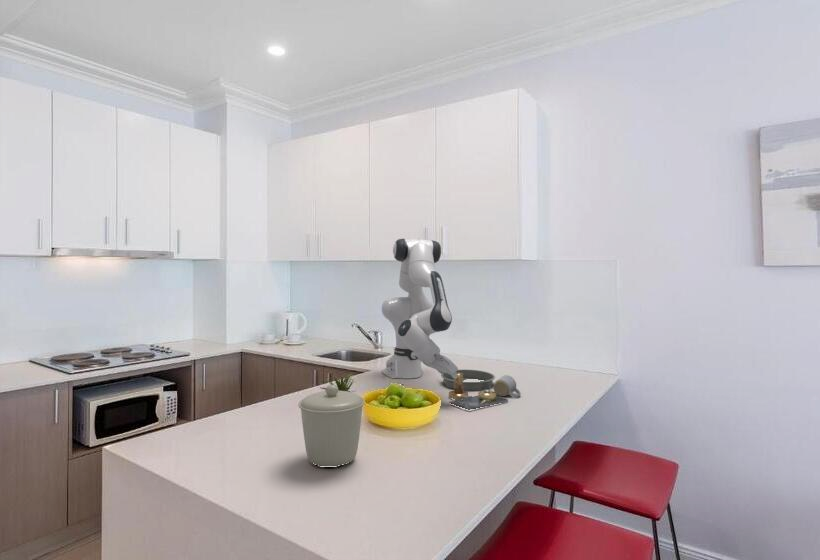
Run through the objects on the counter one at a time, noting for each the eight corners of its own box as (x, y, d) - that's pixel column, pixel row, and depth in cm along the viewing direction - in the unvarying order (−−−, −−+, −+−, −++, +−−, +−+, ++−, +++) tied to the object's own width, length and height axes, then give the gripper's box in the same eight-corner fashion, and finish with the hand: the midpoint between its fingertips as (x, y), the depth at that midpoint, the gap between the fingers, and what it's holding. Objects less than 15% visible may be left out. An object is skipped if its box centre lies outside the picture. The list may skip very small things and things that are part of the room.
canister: (335, 443, 141) (334, 374, 140) (378, 458, 129) (378, 383, 129) (285, 462, 127) (284, 386, 126) (328, 481, 115) (328, 397, 115)
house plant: (333, 409, 174) (332, 366, 174) (367, 413, 170) (366, 369, 170) (314, 421, 161) (313, 374, 160) (350, 425, 156) (350, 377, 156)
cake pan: (438, 390, 203) (438, 380, 202) (443, 377, 227) (444, 368, 227) (495, 393, 198) (495, 382, 198) (494, 379, 222) (495, 370, 222)
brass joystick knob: (444, 397, 192) (444, 373, 191) (459, 394, 196) (459, 370, 196) (457, 401, 185) (457, 376, 185) (472, 398, 190) (472, 374, 189)
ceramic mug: (492, 395, 193) (492, 377, 193) (499, 391, 200) (500, 373, 200) (516, 400, 188) (517, 381, 187) (523, 395, 195) (523, 377, 194)
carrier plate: (449, 404, 181) (449, 392, 181) (487, 396, 193) (487, 385, 193) (469, 412, 171) (469, 399, 171) (508, 402, 184) (508, 391, 183)
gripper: (448, 351, 175) (469, 373, 180) (420, 343, 193) (440, 364, 198) (438, 363, 173) (459, 386, 178) (411, 355, 191) (431, 376, 196)
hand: (449, 374), depth 188 cm, fingers open, 8 cm apart
